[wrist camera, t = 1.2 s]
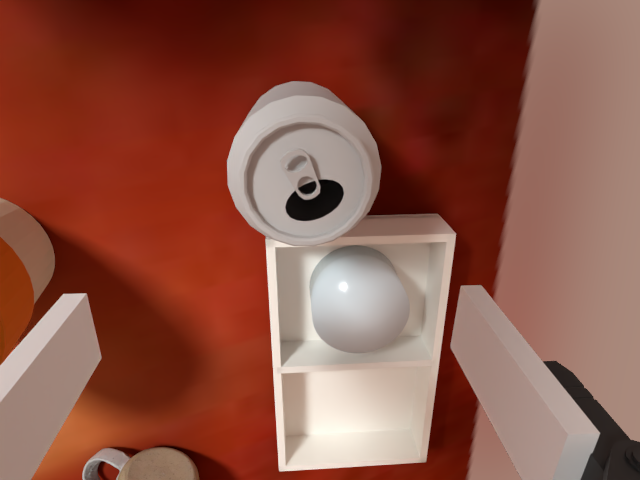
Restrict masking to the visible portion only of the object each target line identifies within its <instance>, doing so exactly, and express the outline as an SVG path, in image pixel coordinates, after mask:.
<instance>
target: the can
mask: <svg viewBox="0 0 640 480" xmlns="http://www.w3.org/2000/svg"><path fill="white" fill-rule="evenodd" d="M227 174H228V187H229V190H230V192H231V195H232V198H233V201H234V203H235V206H236V208H237V209H238V210H239V212H240V213H241V214H242V216H243V217H244V218H245V219H246V221H247V222H248V223H249V225H250V226H252V227H253V228H255V229H256V230H258V231H259V232H260V233H262V234H263V235H265V236H266V237H268V238H269V239H272V240H276V241H279V242H282V243H285V244H288V245H292V246H317V245H321V244H324V243H328V242H332V241H334V240H336V239H337V238H339V237H341V236H342V235H344V234H346V233H347V232H349V231H350V230H352V229H354V228H355V227H356V226H357V225H358V223H359V222H360V221H361V220H362V219H363V218H364V217H365V215H366V214H367V213H368V212H369V211H370V209H371V206H372V204H373V202H374V200H375V198H376V195H377V193H378V191H379V184H380V176H381V162H380V158H379V153H378V148H377V144H376V142H375V140H374V138H373V137H372V135H371V133H370V132H369V130H368V128H367V127H366V125H365V123H364V122H363V121H362V120H361V119H360V118H359V117H358V116H357V115H356V114H355V113H354V112H353V111H352V110H351V109H350V108H349V107H347V106H346V105H345V104H344V103H343V102H342V101H341V100H340V99H339V98H338V97H337V96H335V95H334V94H333V93H332V92H331V91H330V90H328V89H327V88H324V87H322V86H319V85H317V84H314V83H312V82H300V81H292V82H288V83H285V84H281V85H278V86H275V87H273V88H272V89H271V90H269V91H268V92H266V93H265V94H264V95H262V96H261V97H260V98H259V99H258V101H257V102H256V104H255V105H254V106H253V108H252V109H251V111H250V112H249V114H248V115H247V117H246V119H245V121H244V122H243V124H242V126H241V127H240V129H239V131H238V132H237V134H236V136H235V137H234V140H233V144H232V147H231V150H230V153H229V157H228V160H227Z"/></svg>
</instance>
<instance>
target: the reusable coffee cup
mask: <svg viewBox="0 0 640 480" xmlns="http://www.w3.org/2000/svg"><path fill="white" fill-rule="evenodd" d="M54 268H55V254H54V250H53V246H52V244H51V241H50V239H49V237H48V235H47V234H46V232H45V231H44V229H43V228H42V226H41V225H40V224H39V223H38V222H37V221H36V220H35V219H34V218H33V217H32V216H31V215H30V214H28V213H27V212H26V211H24V210H23V209H22V208H20V207H19V206H17V205H15V204H13V203H11V202H9V201H7V200H4V199H1V198H0V365H1V364H2V363H3V362H4V361H5V359H6V358H7V356H8V355H9V353H10V352H11V350H12V349H13V347H14V346H15V344H16V343H17V341H18V340H19V338H20V336H21V335H22V333H23V332H24V330H25V329H26V327H27V325H28V323H29V322H30V320H31V317H32V313H33V309H34V304H35V302H36V301H37V300H38V298H39V297H40V295H41V294H42V292H43V291H44V289H45V288H46V286H47V285H48V283H49V282H50V280H51V278H52V276H53V272H54Z"/></svg>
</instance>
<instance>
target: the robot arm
mask: <svg viewBox="0 0 640 480" xmlns="http://www.w3.org/2000/svg"><path fill="white" fill-rule="evenodd" d="M450 348H451V350H452V351H453V353H454V355H455V357H456V359H457V361H458V363H459V364H460V366H461V368H462V370H463V372H464V374H465V376H466V377H467V379H468V381H469V383H470V385H471V387H472V389H473V390H474V392H475V394H476V396H477V398H478V400H479V402H480V403H481V405H482V407H483V409H484V411H485V413H486V414H487V416H488V418H489V420H490V422H491V424H492V426H493V427H494V429H495V431H496V433H497V435H498V437H499V439H500V440H501V442H502V444H503V446H504V448H505V450H506V452H507V454H508V455H509V457H510V459H511V461H512V463H513V464H514V467H515V468H516V470H517V472H518V474H519V476H520V478H521V479H522V480H640V442H637V441H634V440H630V439H629V437H628V436H627V435H626V434H625V433H624V432H623V430H622V429H621V428H620V427H619V426H618V425H617V423H616V422H615V421H614V420H613V419H612V418H611V417H610V415H609V414H608V413H607V412H606V411H605V410H604V408H603V407H602V406H601V405H600V404H599V403H598V402H597V400H594V399H593V396H592V395H591V394H590V392H589V391H588V390H587V389H586V388H584V386H583V384H582V383H581V382H580V381H579V380H578V379H577V377H576V376H575V375H574V374H573V373H572V372H571V371H569V370H568V369H567V368H565V367H564V366H562V365H561V364H559V363H558V362H556V361H544V362H543V361H542V360H541V359H540V358H539V356H538V355H537V354H536V353H535V352H534V350H533V349H532V348H531V346H530V345H529V344H528V343H527V341H526V340H525V339H524V338H523V336H521V334H520V333H519V332H518V331H517V329H516V328H515V327H514V325H513V324H512V323H511V322H510V320H509V319H508V318H507V317H506V315H505V314H504V313H503V312H502V310H501V309H500V308H499V307H498V305H497V304H496V303H495V302H494V300H493V299H492V298H491V297H490V295H489V294H488V293H487V292H486V290H485V289H484V288H483V287H482V285H465V286H461V287H460V293H459V299H458V305H457V310H456V316H455V322H454V328H453V333H452V339H451V345H450ZM101 358H102V357H101V352H100V348H99V344H98V339H97V335H96V331H95V327H94V322H93V318H92V314H91V310H90V305H89V301H88V297H87V293H78V294H63V295H62V296H61V297H60V298H59V299H58V301H57V302H56V303H55V304H54V305H53V306H52V307H51V308H50V310H49V311H48V312H47V313H46V314H45V315H44V316H43V318H42V319H41V320H40V321H39V322H38V323H37V324H36V325H35V327H34V328H33V329H32V330H31V331H30V332H29V333H28V335H27V336H26V337H25V338H24V339H23V340H22V341H21V342H20V344H19V345H18V346H17V347H16V348H15V349H14V350H13V352H12V353H11V354H10V355H9V356H8V357H7V358H6V359H5V361H4V362H3V363H2V364H1V365H0V480H31V479H32V477H33V475H34V474H35V472H36V470H37V468H38V467H39V465H40V463H41V462H42V460H43V458H44V456H45V455H46V453H47V451H48V450H49V448H50V446H51V444H52V443H53V441H54V439H55V437H56V436H57V434H58V432H59V431H60V429H61V427H62V425H63V424H64V422H65V420H66V419H67V417H68V415H69V413H70V412H71V410H72V408H73V407H74V405H75V403H76V401H77V400H78V398H79V396H80V395H81V393H82V391H83V389H84V388H85V386H86V384H87V382H88V381H89V379H90V377H91V376H92V374H93V372H94V370H95V369H96V367H97V365H98V364H99V362H100V360H101Z"/></svg>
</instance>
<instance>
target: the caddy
mask: <svg viewBox="0 0 640 480" xmlns="http://www.w3.org/2000/svg"><path fill="white" fill-rule="evenodd" d="M455 240H456V233H455V232H454V231H453V230H452V228H451V227H450V226H449V225H448V224H447V223H446V222H445V221H444V220H443V219H442V218H441V216H440V215H439V214H403V215H367V216H365V217H364V218H363V219H362V220H361V221H360V222H359V223H358V225H357V226H356V227H355V228H354V229H352V230H350V231H349V232H347V233H346V234H344V235H342V236H341V237H339V238H337V239H336V240H334V241H332V242H328V243H324V244H321V245H317V246H292V245H288V244H285V243H282V242H279V241H276V240H272V239H269V238H268V237H266V256H267V273H268V290H269V307H270V324H271V342H272V359H273V376H274V393H275V410H276V427H277V445H278V462H279V471H294V470H310V469H325V468H341V467H357V466H373V465H389V464H405V463H421V462H426V459H427V451H428V444H429V436H430V429H431V421H432V414H433V406H434V398H435V391H436V383H437V376H438V368H439V361H440V353H441V345H442V338H443V330H444V323H445V315H446V308H447V300H448V293H449V285H450V277H451V270H452V262H453V255H454V247H455ZM353 245H359V246H367V247H370V248H373V249H375V250H378V251H379V252H381V253H382V254H384V255H385V256H386V257H387V258H388V259H389V260H390V262H391V263H392V265H393V267H394V269H395V271H396V273H397V275H398V277H399V279H400V281H401V283H402V285H403V287H404V289H405V291H406V293H407V296H408V299H409V304H410V312H409V317H408V321H407V323H406V325H405V327H404V329H403V330H402V332H401V333H400V334H399V335H398V337H396V338H395V339H394V340H393V341H392V342H390V343H389V344H388V345H386V346H384V347H382V348H380V349H378V350H374V351H371V352H366V353H347V352H343V351H340V350H337V349H335V348H333V347H331V346H329V345H328V344H326V343H325V342H324V341H323V340H322V339H321V338H320V337H319V335H318V334H317V332H316V330H315V328H314V325H313V321H312V310H311V299H310V289H309V285H310V278H311V275H312V272H313V270H314V268H315V267H316V265H317V264H318V263H319V261H320V260H321V259H322V258H324V257H325V256H326V255H327V254H329V253H330V252H332V251H334V250H336V249H339V248H342V247H346V246H353Z"/></svg>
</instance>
